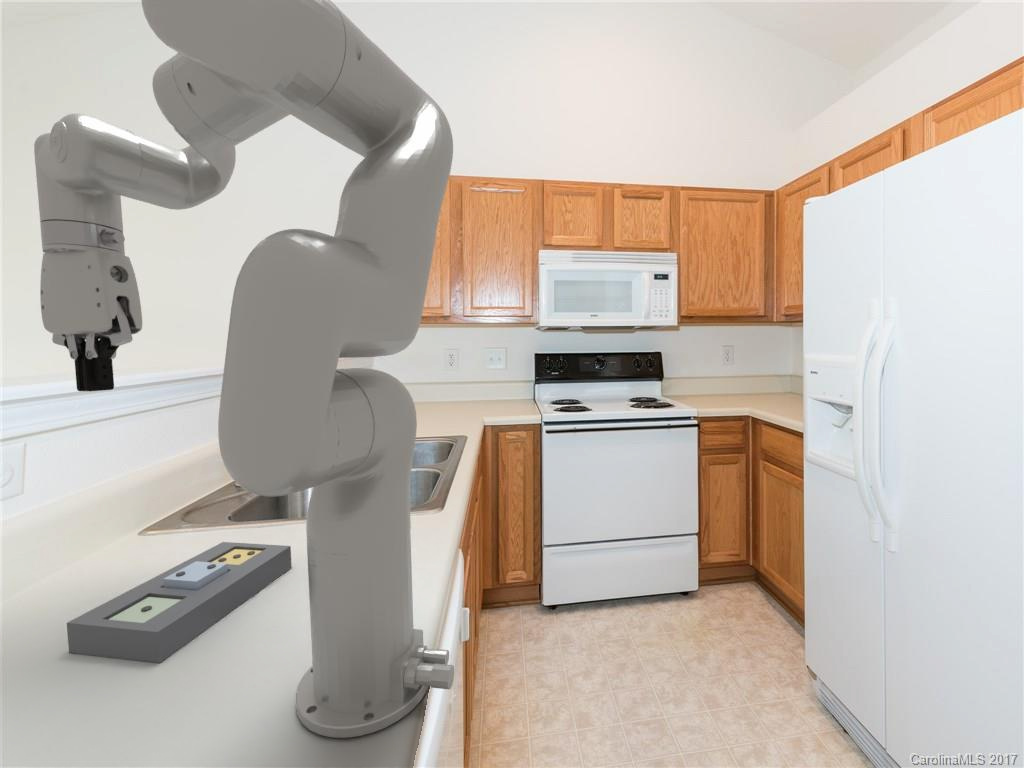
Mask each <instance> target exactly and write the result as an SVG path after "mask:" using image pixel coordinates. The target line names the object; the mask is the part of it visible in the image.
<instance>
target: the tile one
mask: <svg viewBox="0 0 1024 768" xmlns="http://www.w3.org/2000/svg"><path fill="white" fill-rule="evenodd" d="M179 601H181V600H180V599H168V598H156V597H148V598H146V599H144V600H142V601H141V602H139V603H137V604H135V605H133V606H132V607H130V608H128V609H126V610H124V611H123V612H121V613H119V614H117V615H115V616H114V617H112V618H110V619H108V620H118V621H128V622H138V623H144V622H146V621H148V620H149V619H151V618H153V617H154V616H156V615H158V614H159V613H161V612H162V611H164V610H166V609H167V608H169V607H171V606H172V605H174V604H176V603H177V602H179Z"/></svg>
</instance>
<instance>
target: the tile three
mask: <svg viewBox="0 0 1024 768" xmlns="http://www.w3.org/2000/svg"><path fill="white" fill-rule="evenodd" d="M260 552H261V551H258V550H242V549H234V550H233V551H231V552H229V553H227V554H225V555H224V556H222V557H220V558H218V559H216V560H215V561H213V563H227V564H233V565H240V564H242V563H243V562H245V561H246V560H248V559H250V558H251V557H253V556H255V555H256V554H258V553H260Z"/></svg>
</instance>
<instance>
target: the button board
mask: <svg viewBox="0 0 1024 768" xmlns="http://www.w3.org/2000/svg"><path fill="white" fill-rule="evenodd" d="M291 547H292V546H291V545H280V544H279V545H278V544H265V543H263V544H262V543H250V542H249V543H248V542H247V543H246V542H232V541H231V542H230V541H229V542H228V541H221V542H219V543H218V544H217V545H214V546H212V547H211V548H208V549H206V550H205V551H203V552H200V553H199V554H197V555H195V556H193V557H191V558H189V559H188V560H185V561H184V562H182V563H180V564H178V565H176V566H173V567H172V568H170V569H168V570H166V571H164V572H162V573H160V574H158V575H156V576H154V577H152V578H151V579H149V580H146V581H145V582H142V583H140V584H139V585H136V586H135V587H133V588H132V589H129V590H128V591H125V592H124V593H121V594H119V595H118V596H116V597H113V598H112V599H110V600H108V601H106V602H104V603H102V604H100V605H98V606H96V607H94V608H92V609H91V610H89V611H87V612H85V613H83V614H81V615H79V616H77V617H75V618H73V619H71V620H69V621H67V622H66V632H67V644H68V645H67V646H68V653H71V654H77V655H78V654H79V655H87V656H95V657H104V658H105V657H106V658H112V659H120V660H121V659H122V660H131V661H139V662H145V663H146V662H148V663H156V664H162V662H164V661H165V660H167V659H168V658H169V657H171V656H172V655H174V654H175V653H176V652H178V651H179V650H180V649H182V648H183V647H185V646H186V645H187V644H188V643H190V642H191V641H193V640H195V639H196V638H197V637H198V636H200V635H201V634H202V633H204V632H205V631H207V630H208V629H209V628H211V627H213V625H215V624H216V623H217V622H219V621H220V620H222V619H223V618H224V617H227V615H229V614H230V613H231V612H233V611H234V610H235V609H237V608H238V607H240V606H241V605H242V604H244V603H245V602H246V601H248V600H249V599H251V598H252V597H253V596H254V595H256V594H257V593H259V592H260V591H261V590H263V589H264V588H265V587H267V586H269V585H270V584H271V583H273V582H274V581H275V580H277V579H278V578H280V577H281V576H282V575H284V574H286V572H288V571H289V570H291V569H292V568H293V567H292V565H293V564H292V551H291V550H292V548H291ZM234 549H242V550H258V551H261V552H260V553H258V554H256V555H255V556H253V557H251V558H250V559H248V560H246V561H245V562H243V563H242V564H240V565H233V564H228V572H227V573H225V574H223V575H222V576H220V577H218V578H217V579H215V580H214V581H212V582H210V583H209V584H207V585H205V586H204V587H202V588H200V589H199V590H185V589H173V588H164V585H163V579H164V578H166V577H168V576H169V575H171V574H173V573H175V572H177V571H179V570H181V569H183V568H185V567H186V566H188V565H190V564H192V563H194V562H196V561H199V562H213V561H215V560H216V559H218V558H220V557H222V556H224V555H225V554H227V553H229V552H231V551H233V550H234ZM148 597H156V598H168V599H180V600H181V601H179V602H177V603H176V604H174V605H172V606H171V607H169V608H167V609H166V610H164V611H162V612H161V613H159V614H158V615H156V616H154V617H153V618H151V619H149V620H148V621H146V622H144V623H138V622H128V621H118V620H108V619H110V618H112V617H114V616H115V615H117V614H119V613H121V612H123V611H124V610H126V609H128V608H130V607H132V606H133V605H135V604H137V603H139V602H141V601H142V600H144V599H146V598H148Z"/></svg>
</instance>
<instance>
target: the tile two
mask: <svg viewBox="0 0 1024 768" xmlns="http://www.w3.org/2000/svg"><path fill="white" fill-rule="evenodd" d="M227 572H228V564H227V563H213V562H199V561H196V562H194V563H192V564H190V565H188V566H186V567H185V568H183V569H181V570H179V571H177V572H175V573H173V574H171V575H169V576H168V577H166V578H164V579H163V585H164V588H173V589H185V590H199V589H200V588H202V587H204V586H205V585H207V584H209V583H210V582H212V581H214V580H215V579H217V578H218V577H220V576H222V575H223V574H225V573H227Z"/></svg>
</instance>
